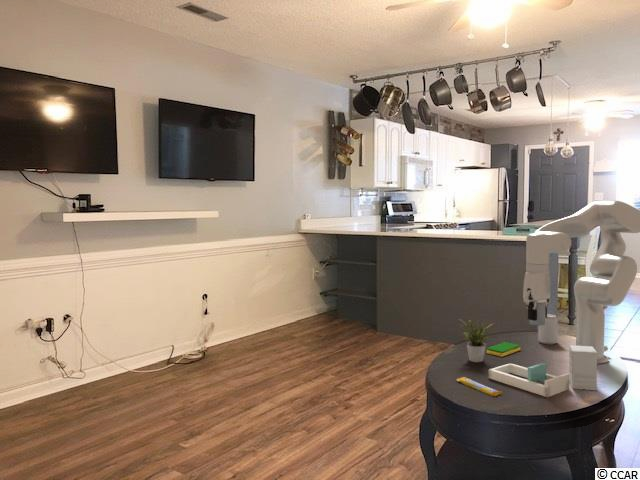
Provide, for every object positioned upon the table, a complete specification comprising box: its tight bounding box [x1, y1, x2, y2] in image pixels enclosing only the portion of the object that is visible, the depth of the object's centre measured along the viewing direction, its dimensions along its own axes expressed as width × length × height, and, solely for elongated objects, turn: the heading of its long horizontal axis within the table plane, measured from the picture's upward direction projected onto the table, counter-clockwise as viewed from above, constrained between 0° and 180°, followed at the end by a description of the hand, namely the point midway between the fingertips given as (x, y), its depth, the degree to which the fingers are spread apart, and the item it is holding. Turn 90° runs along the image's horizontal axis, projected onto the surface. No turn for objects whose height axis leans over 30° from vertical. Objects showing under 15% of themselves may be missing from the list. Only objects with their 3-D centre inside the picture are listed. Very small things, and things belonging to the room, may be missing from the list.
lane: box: [488, 362, 570, 398], centre depth 172 cm, size 12×22×5 cm, turn 34°
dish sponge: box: [486, 341, 521, 357], centre depth 209 cm, size 7×14×2 cm, turn 129°
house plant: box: [457, 318, 494, 363], centre depth 198 cm, size 14×14×16 cm
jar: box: [529, 298, 546, 327], centre depth 184 cm, size 5×5×9 cm
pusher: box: [527, 362, 547, 385], centre depth 168 cm, size 8×5×7 cm, turn 124°
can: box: [537, 313, 559, 345], centre depth 221 cm, size 8×8×12 cm
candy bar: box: [455, 376, 503, 397], centre depth 169 cm, size 17×4×2 cm, turn 28°
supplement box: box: [568, 344, 598, 391], centre depth 169 cm, size 7×7×13 cm
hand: (537, 318), depth 184 cm, fingers closed on jar, 5 cm apart
